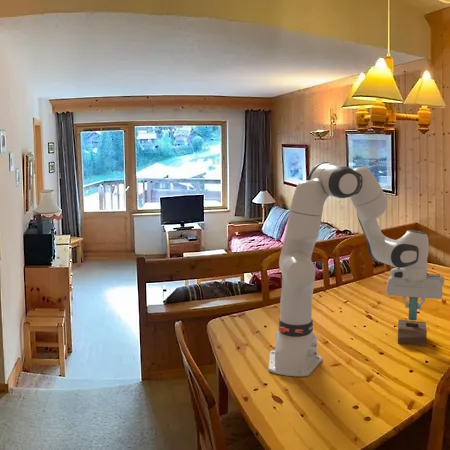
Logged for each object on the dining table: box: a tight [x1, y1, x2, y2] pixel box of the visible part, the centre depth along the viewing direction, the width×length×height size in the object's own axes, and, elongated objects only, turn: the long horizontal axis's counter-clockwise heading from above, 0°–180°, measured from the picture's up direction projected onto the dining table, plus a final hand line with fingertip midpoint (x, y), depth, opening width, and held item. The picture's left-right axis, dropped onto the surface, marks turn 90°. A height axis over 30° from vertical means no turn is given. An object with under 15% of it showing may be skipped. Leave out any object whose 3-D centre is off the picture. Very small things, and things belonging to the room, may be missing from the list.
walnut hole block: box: [397, 319, 428, 347], centre depth 204 cm, size 10×10×6 cm
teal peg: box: [408, 297, 419, 321], centre depth 202 cm, size 3×3×10 cm
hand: (413, 307), depth 203 cm, fingers closed on teal peg, 3 cm apart
